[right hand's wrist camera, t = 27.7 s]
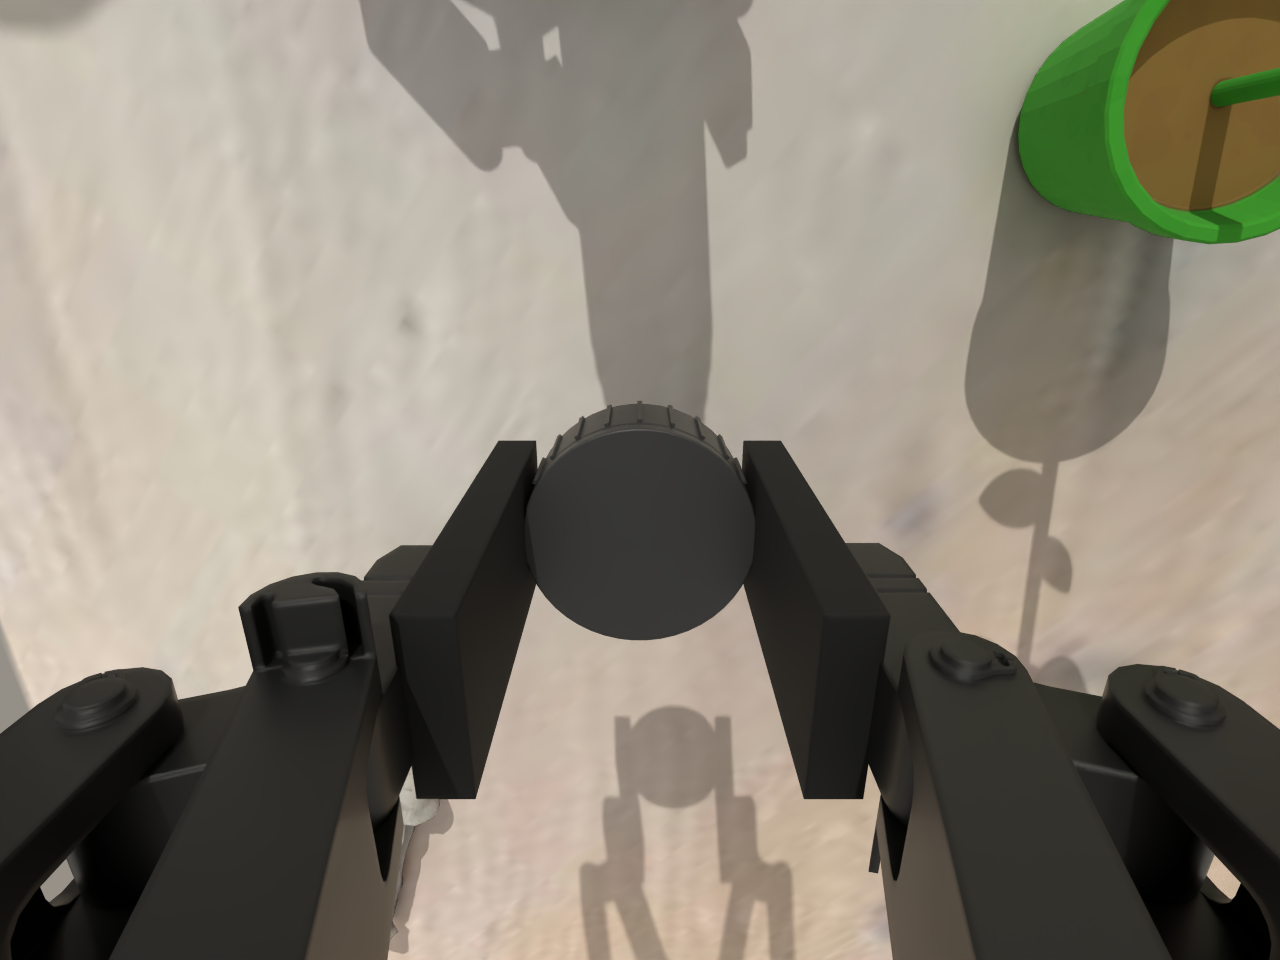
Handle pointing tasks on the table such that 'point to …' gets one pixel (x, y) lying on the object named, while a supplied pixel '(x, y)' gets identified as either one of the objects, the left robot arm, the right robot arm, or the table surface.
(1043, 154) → the potted flower
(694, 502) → the cap
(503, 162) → the table surface
